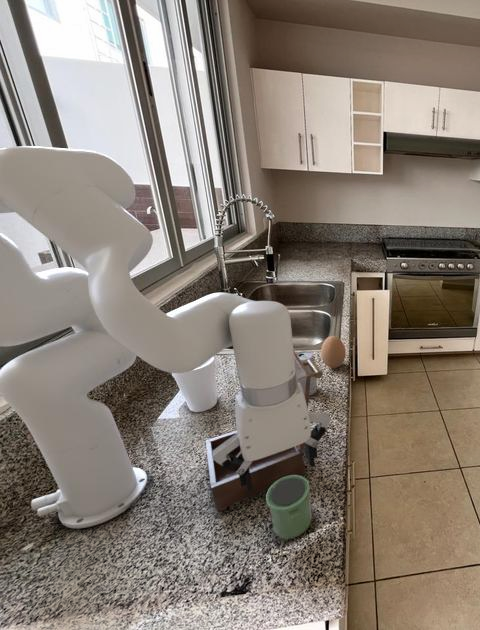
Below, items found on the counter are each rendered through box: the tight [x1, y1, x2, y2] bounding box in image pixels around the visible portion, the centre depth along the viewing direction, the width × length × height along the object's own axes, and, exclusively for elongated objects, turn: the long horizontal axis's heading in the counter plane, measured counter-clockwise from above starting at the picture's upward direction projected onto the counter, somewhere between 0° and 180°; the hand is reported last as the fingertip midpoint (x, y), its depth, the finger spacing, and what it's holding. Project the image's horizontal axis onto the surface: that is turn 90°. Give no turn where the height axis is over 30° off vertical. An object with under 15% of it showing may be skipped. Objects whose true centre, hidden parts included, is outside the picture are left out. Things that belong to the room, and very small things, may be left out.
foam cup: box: [171, 356, 218, 413], centre depth 89 cm, size 10×9×13 cm
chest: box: [205, 429, 306, 512], centre depth 70 cm, size 16×14×6 cm
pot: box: [265, 475, 313, 540], centre depth 59 cm, size 7×9×8 cm
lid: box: [294, 350, 324, 452], centre depth 72 cm, size 17×14×5 cm
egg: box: [320, 335, 347, 369], centre depth 109 cm, size 8×8×11 cm
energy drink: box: [296, 350, 318, 396], centre depth 95 cm, size 5×5×12 cm
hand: (281, 473), depth 56 cm, fingers open, 9 cm apart
